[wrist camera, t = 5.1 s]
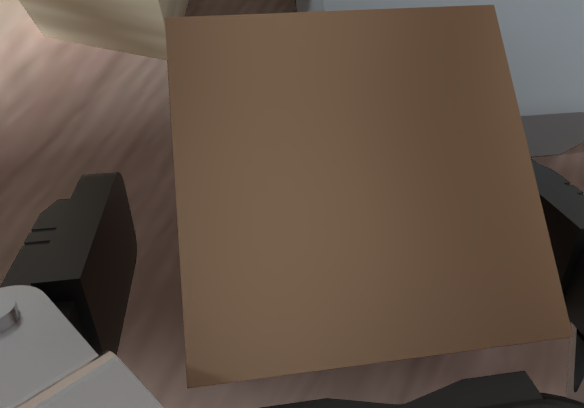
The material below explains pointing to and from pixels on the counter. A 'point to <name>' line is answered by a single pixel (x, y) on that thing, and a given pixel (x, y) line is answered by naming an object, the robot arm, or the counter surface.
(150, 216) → the counter surface
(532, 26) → the base block
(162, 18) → the birch block
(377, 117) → the walnut block
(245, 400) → the counter surface
